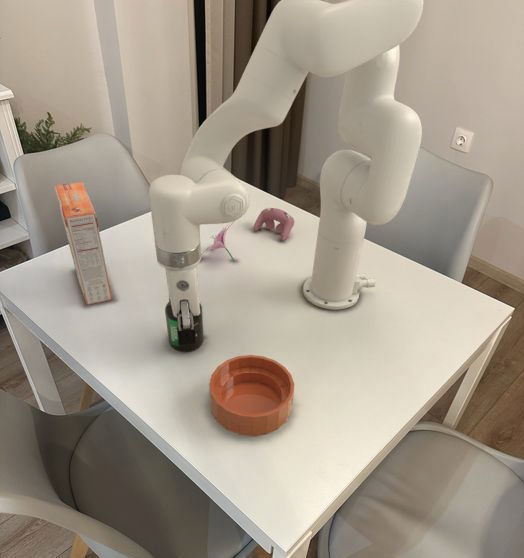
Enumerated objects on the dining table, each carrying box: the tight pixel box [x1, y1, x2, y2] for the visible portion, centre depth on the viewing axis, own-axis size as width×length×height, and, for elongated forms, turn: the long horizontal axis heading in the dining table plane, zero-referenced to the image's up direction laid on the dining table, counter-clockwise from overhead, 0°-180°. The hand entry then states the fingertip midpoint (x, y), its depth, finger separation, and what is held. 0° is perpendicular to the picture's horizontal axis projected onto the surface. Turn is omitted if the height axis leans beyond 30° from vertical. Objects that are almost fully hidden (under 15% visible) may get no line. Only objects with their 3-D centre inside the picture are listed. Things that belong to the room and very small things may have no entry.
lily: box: [201, 223, 236, 262], centre depth 122 cm, size 12×12×10 cm
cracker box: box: [54, 181, 114, 306], centre depth 107 cm, size 14×6×21 cm, turn 24°
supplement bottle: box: [164, 296, 205, 353], centre depth 97 cm, size 7×7×12 cm
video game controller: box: [253, 207, 295, 242], centre depth 133 cm, size 10×5×7 cm, turn 58°
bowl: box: [208, 354, 295, 437], centre depth 88 cm, size 14×14×6 cm
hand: (185, 329), depth 99 cm, fingers closed on supplement bottle, 6 cm apart
